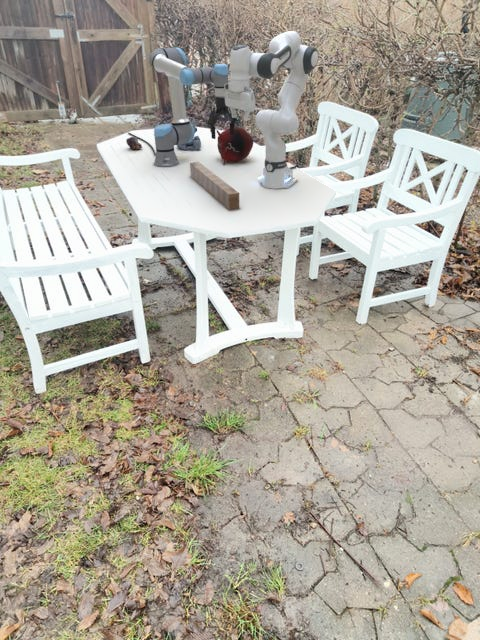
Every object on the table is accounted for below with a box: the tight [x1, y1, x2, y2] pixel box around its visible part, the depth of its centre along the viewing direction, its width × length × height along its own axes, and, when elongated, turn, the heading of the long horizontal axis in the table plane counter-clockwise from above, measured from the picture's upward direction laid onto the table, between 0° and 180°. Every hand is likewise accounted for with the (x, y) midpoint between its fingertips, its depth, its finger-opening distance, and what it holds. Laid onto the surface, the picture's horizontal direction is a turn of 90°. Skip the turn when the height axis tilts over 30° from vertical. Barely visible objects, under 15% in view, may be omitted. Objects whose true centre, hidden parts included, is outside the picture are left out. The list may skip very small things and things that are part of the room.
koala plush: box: [176, 118, 202, 151], centre depth 322 cm, size 17×18×20 cm
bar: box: [189, 161, 240, 211], centre depth 246 cm, size 62×5×8 cm, turn 23°
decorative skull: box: [216, 126, 254, 165], centre depth 295 cm, size 21×24×25 cm
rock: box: [125, 136, 143, 150], centre depth 324 cm, size 12×9×10 cm
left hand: (222, 136), depth 260 cm, fingers open, 13 cm apart
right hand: (239, 119), depth 212 cm, fingers open, 8 cm apart
